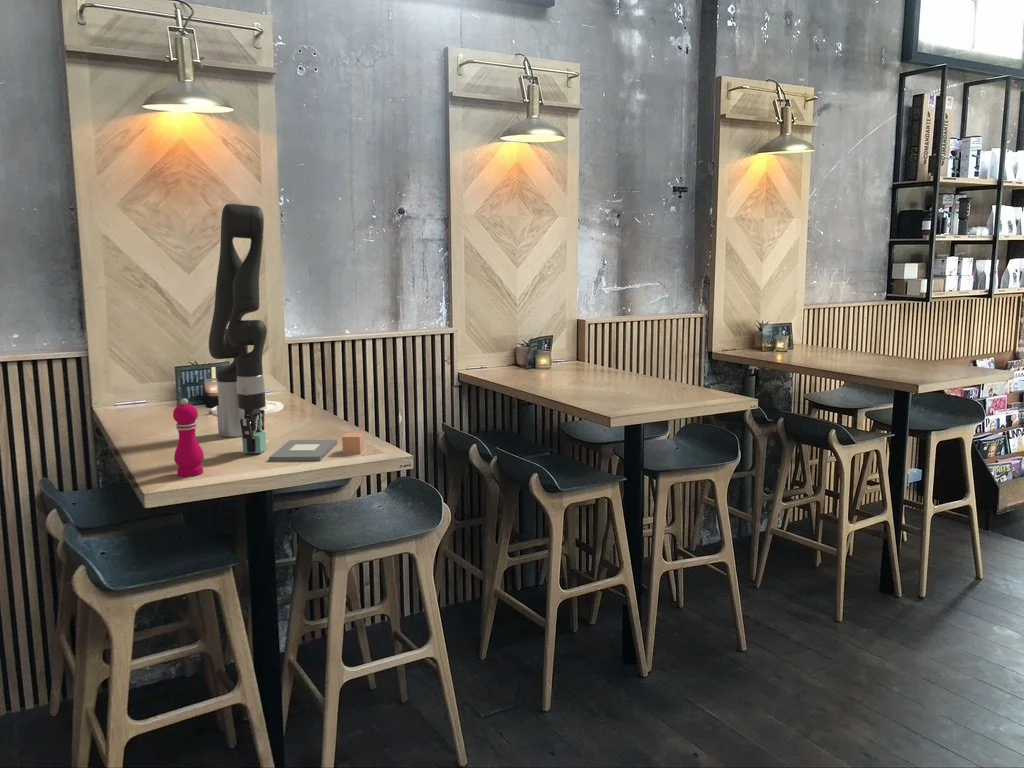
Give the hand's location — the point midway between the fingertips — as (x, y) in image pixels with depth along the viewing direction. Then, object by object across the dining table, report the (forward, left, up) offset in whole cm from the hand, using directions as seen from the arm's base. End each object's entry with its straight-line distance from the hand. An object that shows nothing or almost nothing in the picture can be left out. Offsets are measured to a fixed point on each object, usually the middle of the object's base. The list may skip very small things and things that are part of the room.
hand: (254, 449), depth 242 cm
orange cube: (+28, 0, -1) cm, 28 cm away
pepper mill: (-10, -22, -1) cm, 24 cm away
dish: (-24, +64, -2) cm, 68 cm away
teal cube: (0, 0, 0) cm, 0 cm away
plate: (+14, 0, -1) cm, 14 cm away
